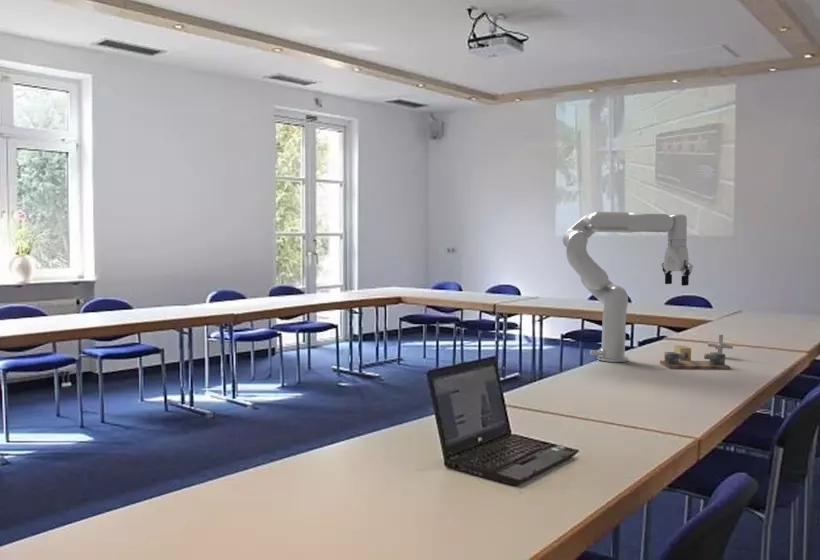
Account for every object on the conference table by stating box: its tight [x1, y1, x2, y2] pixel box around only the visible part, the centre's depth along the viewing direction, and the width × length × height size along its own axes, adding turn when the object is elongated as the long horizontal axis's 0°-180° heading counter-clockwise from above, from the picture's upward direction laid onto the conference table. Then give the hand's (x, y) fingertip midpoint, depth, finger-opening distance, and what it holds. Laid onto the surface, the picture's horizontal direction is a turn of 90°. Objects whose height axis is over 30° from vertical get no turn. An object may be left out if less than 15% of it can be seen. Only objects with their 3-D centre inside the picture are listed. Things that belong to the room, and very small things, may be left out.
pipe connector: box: [707, 333, 734, 353], centre depth 324 cm, size 10×10×10 cm
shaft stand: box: [659, 351, 731, 370], centre depth 301 cm, size 24×12×5 cm, turn 91°
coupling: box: [673, 345, 692, 361], centre depth 314 cm, size 7×4×6 cm, turn 1°
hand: (676, 284), depth 312 cm, fingers open, 9 cm apart
